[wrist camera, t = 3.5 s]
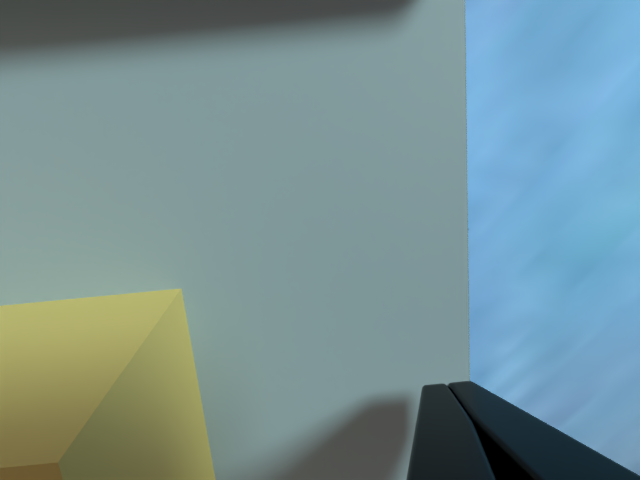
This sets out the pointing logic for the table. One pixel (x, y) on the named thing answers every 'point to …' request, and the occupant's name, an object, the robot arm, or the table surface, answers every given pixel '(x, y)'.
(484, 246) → the table surface
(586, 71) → the table surface
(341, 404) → the tray
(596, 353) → the table surface
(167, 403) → the block
